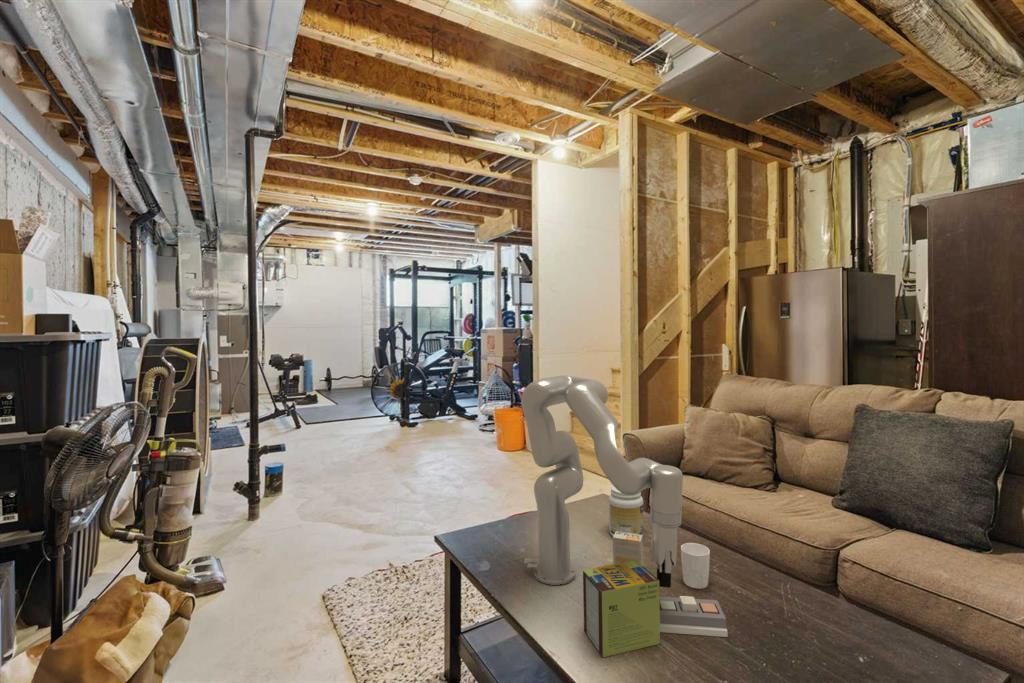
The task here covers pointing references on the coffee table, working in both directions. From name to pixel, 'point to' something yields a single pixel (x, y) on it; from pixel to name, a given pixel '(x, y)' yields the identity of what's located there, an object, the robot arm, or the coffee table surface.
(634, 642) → the protein box
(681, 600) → the key
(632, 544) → the supplement box
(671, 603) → the key
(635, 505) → the supplement tub
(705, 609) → the key
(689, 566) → the white cup
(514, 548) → the coffee table surface
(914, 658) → the coffee table surface
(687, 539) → the coffee table surface
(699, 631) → the keypad
